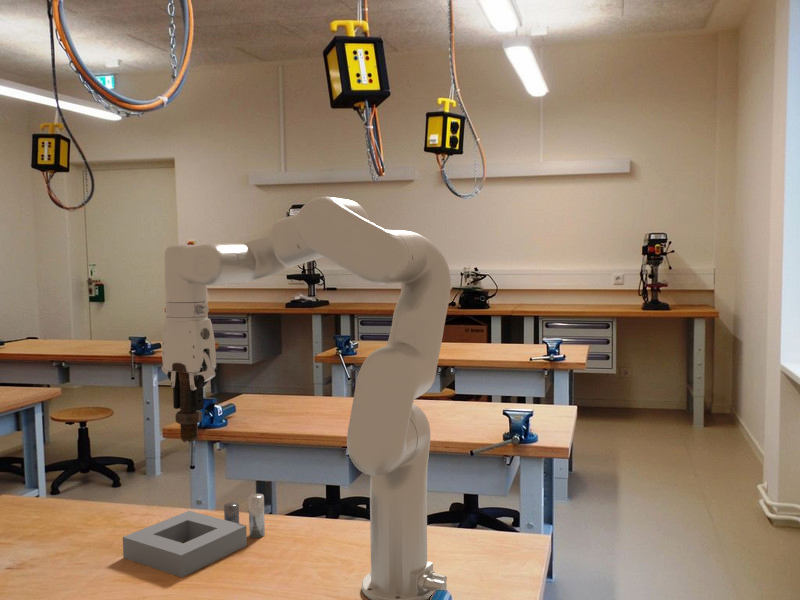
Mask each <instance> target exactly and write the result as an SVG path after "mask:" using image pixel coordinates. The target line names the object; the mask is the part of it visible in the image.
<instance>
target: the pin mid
mask: <svg viewBox="0 0 800 600" xmlns="http://www.w3.org/2000/svg"><path fill="white" fill-rule="evenodd" d="M248 518H249V519H248V524H249V527H248V528H249V529H248V530H249V538H251V537H252V539H260V538H263V537H264V536H266V535H265V534H266V533H265V532H266V530H265V528H266V527H265V525H266V524H265V496H264V494H263V493H253V494H249V496H248Z"/></svg>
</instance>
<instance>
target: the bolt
mask: <svg viewBox="0 0 800 600" xmlns="http://www.w3.org/2000/svg"><path fill="white" fill-rule="evenodd" d="M200 370H201V368H200ZM172 371H177V372H179V381H180V382H179V383H180V385H179V386H180V393H181V394H180V402H181V403H180V404H181V405H180V408H179V411H177V412H176V414H175V422H176V423H177V424H179V425H180V426H179V427H180V440H181V441H182V442H184V443H186V442H188V443H191V442H194V441H197V439H198V436H199V430H198V429H199V428H198V427H199V426H198V423H201V422H202V420H203V412H202V411H201V409H200V410H196V411H192V412H191V411H189V410H188V390H191V388H190V380H189V373H184V372H186V368H185V365H183V364H181V363H173V364H172ZM197 379H198V376H196V380H197Z"/></svg>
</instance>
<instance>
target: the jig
mask: <svg viewBox="0 0 800 600" xmlns="http://www.w3.org/2000/svg"><path fill="white" fill-rule="evenodd" d="M247 537H248V535H247V525H245V524H241V523H239V524H238V523H234V522H231V521H227V520H224V518H219V517H214V516H211V515H208V514H203V513H199V512H195V511H193V510H187V511H185V512H182V513H179V514H177V515H175V516H173V517H170V518H167V519H165V520H163V521H160V522H157V523H155V524H152V525H149V526H146V527H144V528H142V529H139V530H137V531H135V532H132V533H129V534H127V535H123V536H122V551H123V552H122V557H123V559H125V558H126V559H125V560H128V561H131V562H134V563H138V564H141V565H144V566H147V567H150V568H153V569H154V570H159V571H162V572H165V573H168V574H170V575H174V576H176V577H179V578H183V577H186V576H189V575H190V574H193V573H194V572H196V571H198V570H200V569H202V568H203V569H204V568H205V567H208V566H209V565H211V564H212V563H214V562H216V561H219V560H222V559H223V558H225V557H227V556H229V555H231V554H232V553H235V552H237V551H239V550H241V549H243V548H245V547H247V546H248V539H247Z"/></svg>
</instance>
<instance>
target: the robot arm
mask: <svg viewBox="0 0 800 600" xmlns="http://www.w3.org/2000/svg"><path fill="white" fill-rule="evenodd" d="M323 258H325V259H327V260H329V261H330V262H333V263H334V264H336V265H337V266H339V267H341V268H343V269H344V270H346V271H348V272H349V273H351V274H353V275H355V276H356V277H357V278H359V279H362V280H364V281H366V282H368V283H371V284H376V285H381V286H382V285H385V286H386V285H392V284H400V287H401V289H400V293H399V297H398V299H397V302H396V304H395V307H394V310H393V311H394V312H393V316H392V320H391V321H392V322H391V327H390V332H389V337H388V339H387V342H386V345H384V346H380V347H379V348H377V349H375V350H374V351H372V352H371V353H370V354H369V355H368V356H367V357H366V358H365V359H364V361H363V363H362V365H361V366H360V369H359V371H358V374H357V378H356V383H355V388H354V393H353V400H352V404H351V411H350V416H349V422H348V427H347V433H346V434H347V435H346V447H347V452H348V456H349V458H350V461H351V462H352V463H353V464H352V465H354V467H356V468H357V470H359V471H360V472H361V473H363V474H365V475H369V476H370V482H369V511H370V512H369V515H370V516H369V517H370V518H369V522H370V523H369V525H370V527H369V529H370V572H369V573H368V574H366V575H365V577H363V579H362V581H361V589H362V590H361V591H362V593H363V594H364V596H365V597H367V599H368V600H429V599H430V598H431V597H432V596H431V594H432V592H433V591H434V590H436V589H445V590H447V587H448V585H447V580H448V579H447V578H448V577H447V575H444V574H440V573H435V570H434V562H433V561H428V465H429V457H430V456H429V455H430V450H431V449H430V447H431V426H430V423H429V419H428V417H427V416H426V413H425V412H424V410H422V409H421V408H420V407H419V406H418V405H417V404H414V401H415V400H416V399H418V398H419V397H421V396H422V395H424V394H425V393H427V391H428V390H430V389H431V387H432V386H433V384H434V382H435V379H436V376H437V375H436V374H437V369H438V365H439V358H440V352H441V348H442V347H441V346H442V342H443V336H444V329H445V324H446V318H447V314H448V307H449V303H450V297H451V289H452V288H451V287H452V277H451V271H450V267H449V264H448V262H447V260H446V257H445V255H444V254H443V253H442V251H441V250H440V249H439V248H438V246H437V245H436V244H435V243H433V242H432V241H431V240H430V239H429V238H427V237H425V236H423V235H422V234H419V233H417V232H414V231H409V230H403V229H402V230H401V229H394V230H393V229H385V228H383V227H381V226H380V225H376V224H375V223H374V222H371V221H370V219H369V216H368V213H367V212H366V210H365V209H364V208H363V207H362V205H360V203H358V202H356V201H354V200H350V199H347V198H341V197H332V196H319V197H315V198H312V199H310V200H309V201H308V202H306V203H305V204H304V205H303V206H302V207H301V208H300V210H299V212H297V213H295V214H292V215H289V216H285V217H282V218H280V219H277V220H275V221H273V223H272V225H271V228H270V231H269V234H266V235H264V236H262V237H257V238H256V239H251V240H249V241H246V242H240V243H229V242H227V243H205V244H172V245H168V246H167V247H166V248H165V250H164V295H165V296H164V298H165V318H164V323H163V330H162V331H163V332H162V343H161V344H162V345H161V347H162V350H161V358H162V366H161V371H162V372H163V373H164V374H165V375H166V376H167V378H168V380H169V381H170V386H171V388H172V390H173V391H172V397H173V399H172V400H173V402H172V403H173V409H175V410H178V409H179V410H180V405H181V404H180V403H181V402H180V394H181V393H180V386H179V385H180V383H179V382H180V381H179V372H177V371H172V364H173V363H181V364H183V365H185V368H186V372H184V373H189V380H190V388H191V390H188V410H189V411H191V412H192V411H196V410H200V411H201V410H203V409H204V407H205V406H204V389H206V387H207V383H208V382H209V381H210V380H212V379H213V378H214V377H216V371H215V369H217V368H216V367H217V357H216V356H217V352H216V341H215V334H214V329H213V328H214V327H213V323H212V321H211V318H209V317H208V316H209V314H208V313H209V311H210V309H209V305H208V304H209V302H208V287H209V286H210V287H211V286H212V287H214V286H224V285H238V284H245V283H251V282H254V281H258V280H260V279H264V278H267V277H270V276H273V275H276V274H280V273H281V272H282V273H283V272H284V271H288V270H291V269H292V268H294V267H297V266H300V265H302V264H306V263H310V262H313V261H316V260H319V259H323ZM200 368H201V370H200ZM196 376H198V378H197V380H196ZM430 596H431V597H430ZM429 597H430V598H429Z"/></svg>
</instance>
